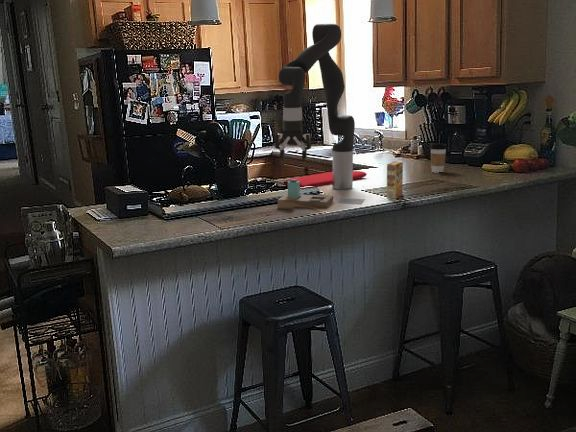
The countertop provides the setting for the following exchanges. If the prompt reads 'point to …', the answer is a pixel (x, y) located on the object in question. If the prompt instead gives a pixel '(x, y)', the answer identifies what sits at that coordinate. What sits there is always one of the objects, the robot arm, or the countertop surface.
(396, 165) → the candy box
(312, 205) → the socket block
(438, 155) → the coffee cup
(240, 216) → the countertop surface
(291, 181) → the plug
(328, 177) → the dish drying mat
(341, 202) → the deck
